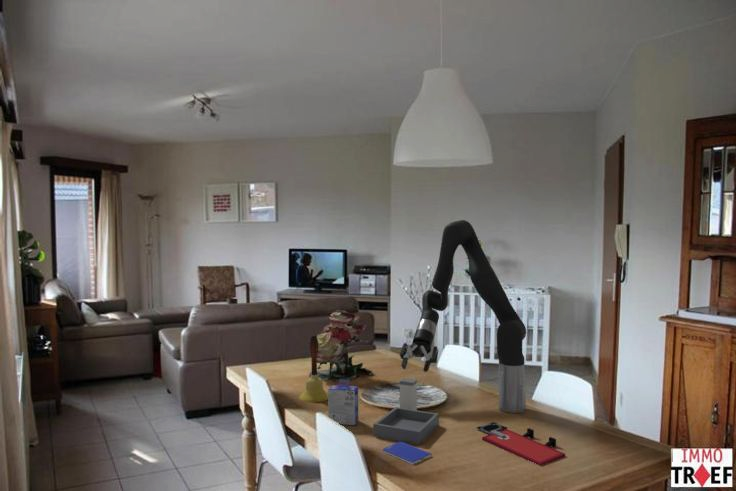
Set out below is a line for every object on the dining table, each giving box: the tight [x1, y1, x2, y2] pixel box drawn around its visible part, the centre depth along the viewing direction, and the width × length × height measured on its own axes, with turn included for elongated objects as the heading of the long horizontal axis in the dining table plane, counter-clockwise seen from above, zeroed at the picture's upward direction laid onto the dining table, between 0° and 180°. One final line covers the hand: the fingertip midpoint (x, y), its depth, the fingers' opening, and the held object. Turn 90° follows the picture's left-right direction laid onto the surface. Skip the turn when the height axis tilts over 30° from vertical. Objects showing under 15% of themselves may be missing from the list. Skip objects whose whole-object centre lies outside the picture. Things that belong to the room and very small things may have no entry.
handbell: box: [298, 334, 328, 403], centre depth 214 cm, size 12×12×25 cm
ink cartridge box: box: [327, 379, 359, 426], centre depth 186 cm, size 10×6×14 cm, turn 78°
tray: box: [372, 406, 440, 446], centre depth 178 cm, size 16×18×4 cm
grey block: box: [399, 377, 418, 411], centre depth 195 cm, size 5×4×12 cm
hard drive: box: [382, 441, 432, 465], centre depth 160 cm, size 2×8×12 cm
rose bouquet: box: [308, 309, 374, 383], centre depth 246 cm, size 26×29×30 cm
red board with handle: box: [475, 421, 566, 466], centre depth 168 cm, size 30×3×15 cm
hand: (414, 369), depth 200 cm, fingers open, 8 cm apart
